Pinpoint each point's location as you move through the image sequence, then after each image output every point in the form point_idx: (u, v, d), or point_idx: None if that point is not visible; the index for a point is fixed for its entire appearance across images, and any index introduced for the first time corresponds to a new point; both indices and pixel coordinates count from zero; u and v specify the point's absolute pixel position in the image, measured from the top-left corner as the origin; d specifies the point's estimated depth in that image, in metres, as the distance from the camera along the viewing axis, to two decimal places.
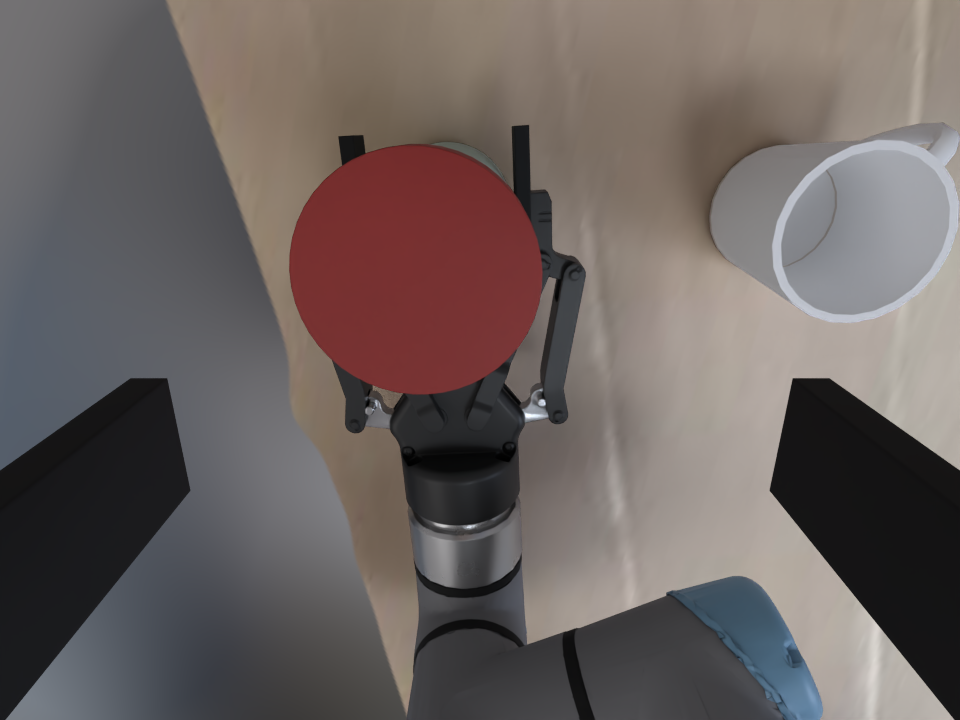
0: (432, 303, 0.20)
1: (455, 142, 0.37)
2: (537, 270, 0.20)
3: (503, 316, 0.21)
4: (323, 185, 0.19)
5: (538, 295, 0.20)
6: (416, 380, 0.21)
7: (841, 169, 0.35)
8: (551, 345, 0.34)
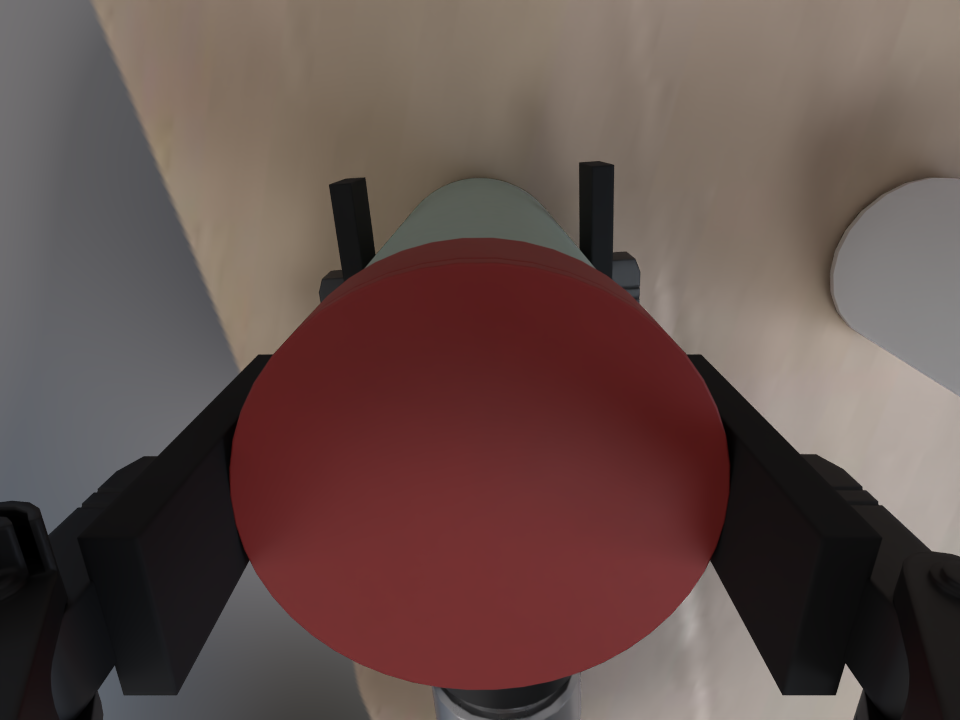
0: (510, 548, 0.11)
1: None
2: (720, 490, 0.10)
3: (646, 568, 0.11)
4: (292, 343, 0.09)
5: (717, 533, 0.10)
6: (475, 669, 0.12)
7: None
8: None
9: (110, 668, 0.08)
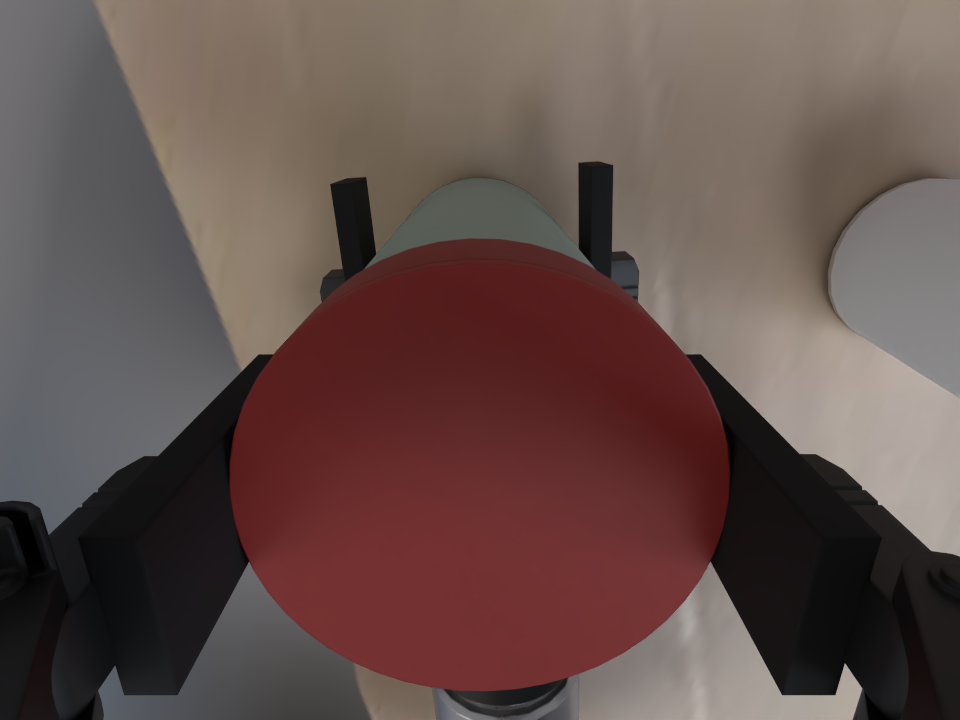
0: (535, 496, 0.10)
1: None
2: (536, 280, 0.09)
3: (611, 376, 0.09)
4: (274, 597, 0.11)
5: (593, 292, 0.09)
6: (676, 565, 0.11)
7: None
8: None
9: (110, 668, 0.08)
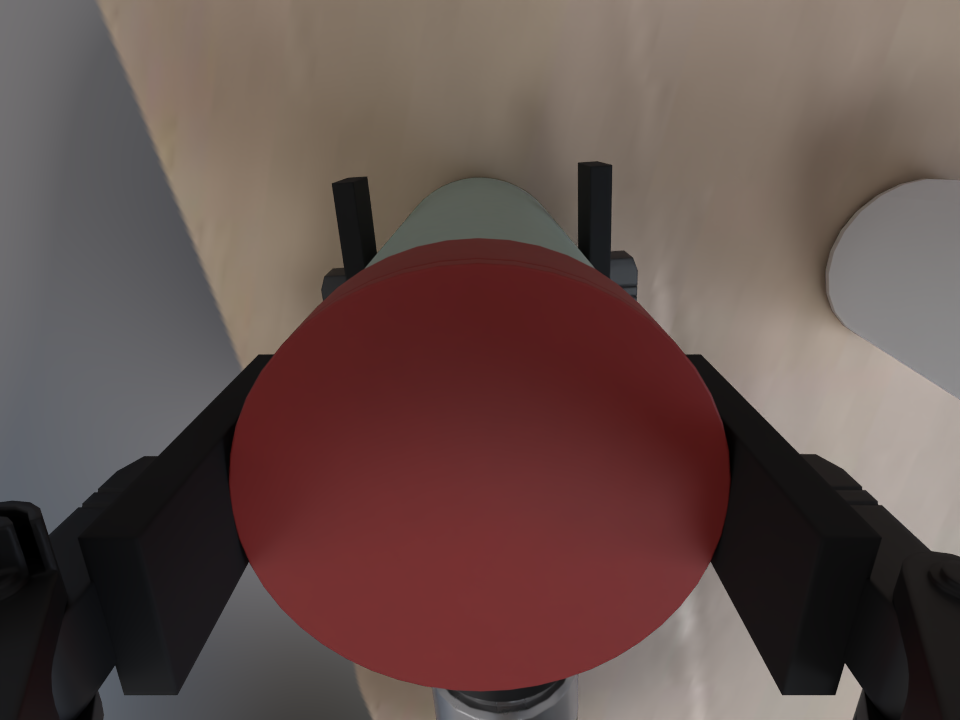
0: (480, 459, 0.10)
1: (489, 178, 0.28)
2: (254, 406, 0.10)
3: (364, 364, 0.09)
4: (515, 687, 0.12)
5: (274, 362, 0.09)
6: (618, 344, 0.09)
7: None
8: None
9: (111, 668, 0.08)
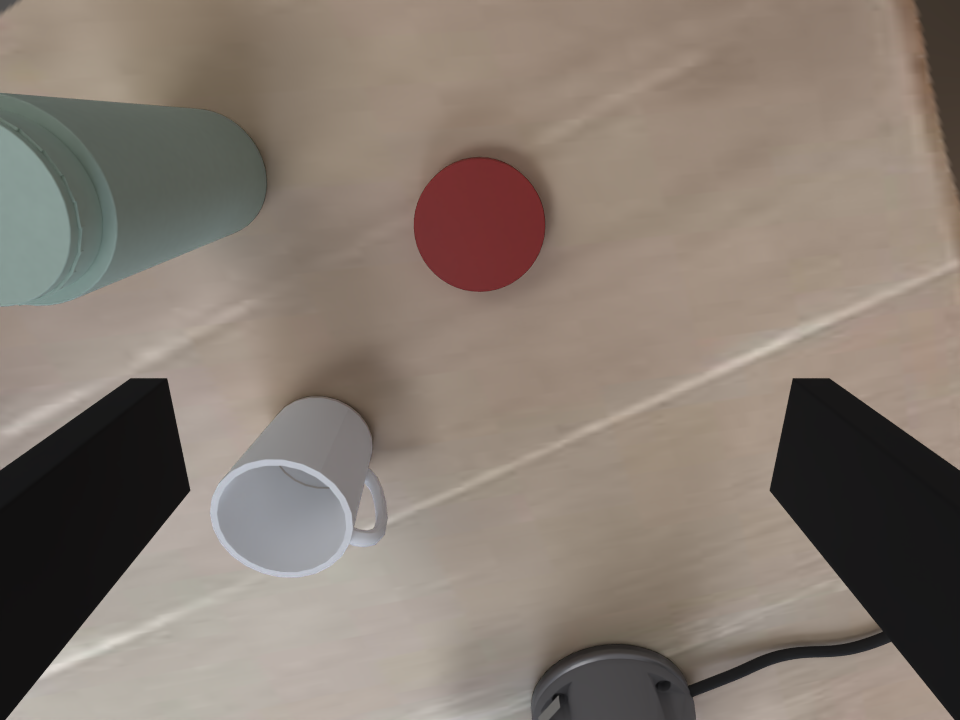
0: (479, 212, 0.38)
1: (263, 164, 0.39)
2: (423, 196, 0.38)
3: (451, 184, 0.38)
4: (489, 289, 0.40)
5: (429, 184, 0.38)
6: (513, 179, 0.38)
7: None
8: None
9: None
